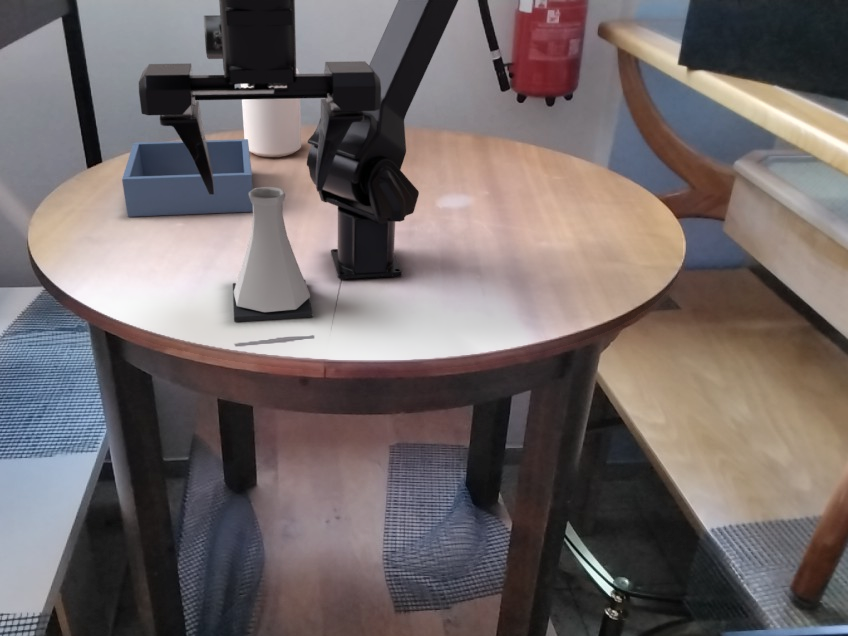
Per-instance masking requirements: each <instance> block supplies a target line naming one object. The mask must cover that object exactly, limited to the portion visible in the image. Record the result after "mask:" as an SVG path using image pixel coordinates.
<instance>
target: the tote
mask: <svg viewBox="0 0 848 636" xmlns="http://www.w3.org/2000/svg"><path fill="white" fill-rule="evenodd" d="M206 144H207V148H208V153H209V158H210V163H211V167H212V172H213V183H214V195H209V193H208V191H207V189H206V186H205V184H204V182H203V180H202V178H201V176H200V173H199V171H198V169H197V167H196V165H195V162H194V160H193V158H192V156H191V154H190V153H189V151H188V149H187V148H186V146H185V145H184V143H183V141H182V140H174V141H173V140H171V141H142V142H140V141H139V142H133V143H132V147H131V149H130V152H129V156H128V159H127V162H126V164H125V165H126V166H125V169H124V172H123V175H122V178H121V181H122V189H123V195H124V203H125V209H126V216H127V218H132V217H133V218H135V217H159V216H181V215H182V216H183V215H184V216H185V215H204V214H205V215H206V214H233V213H251V212H252V213H253V203H251V201H250V198H249V192H250V191H252V190H253V189H254V186H253V185H254V184H253V172H252V163H251V154H250V152H249V145H248V139H244V138H242V139H239V138H238V139H209V140H208V139H206Z"/></svg>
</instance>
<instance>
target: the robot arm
mask: <svg viewBox="0 0 848 636" xmlns="http://www.w3.org/2000/svg"><path fill="white" fill-rule="evenodd" d="M458 2H459V0H397V3H396V5H395V7H394V9H393V12H392V14H391V15H390V18H389V21H388V22H387V26H386V27H385V30H384V32H383V34H382V36H381V38H380V41H379V42H378V45H377V47H376V49H375V51H374V54H373V56H372V58H371V61H370V62H369V64H368V63H367V61H365V60H363V61H360V60H359V61H325V62H324V68H323V69H324V71H323V73H299V74H296V67H297V43H296V41H297V39H296V38H297V37H296V0H218V3H219V15H203V29H204V40H205V41H204V43H205V54H206V57H207V59H208V60H222V66H223V68H222V69H223V74H199V75H198V74H193V73H194V72H193V67H192V63H148V64H147V65H146V67H145V68H144V70H143V71H142V73H141V75H140V78H139V80H138V96H139V104H140V111H141V115H145V116H159V124H160V125H161V126H163V127H171V128H173V129H174V131H175V132H176V134H177V135H178V137H179V138H180V141H183V143H184V145H185V146H186V148H187V149H188V151H189V153H190V154H191V156H192V158H193V160H194V162H195V165H196V167H197V169H198V171H199V173H200V176H201V178H202V180H203V182H204V184H205V186H206V189H207V191H208V193H209V195H214V183H213V172H212V167H211V163H210V158H209V153H208V148H207V144H206V140H207V139H206V135H205V130H204V125H203V119H202V114H201V112H202V111H201V107H200V101H232V100H234V101H236V100H237V101H238V100H239V101H240V100H241V101H242V100H244V99H300V100H301V99H320V118H319V121H318V123H317V127H316V129H315V131H314V132H313V134H311V136H310V137H309V138H308V140H307V144H308V145H311V146H310V148H309V151H308V154H307V157H306V166H307V167H308V171H309V177H310V179H311V181H312V183H313V185H315V188H316V191H317V192H318V195H319V198H320V201H321V202H323V203H329V205H330V204H331V205H333V206H335V207H337V248H333V249H331V250H330V257H331V260H332V263H333V267H334V270H335V274H336V277H337V278H338V279H339V280H350V279H351V280H353V279H370V278H389V277H400V276H402V275H403V268H402V266H401V265H400V261H399V260H398V258H397V256H396V254H395V237H396V236H395V235H396V222H397V223H400V222H403V221H405V218H406V217H407V216H410V215H413V214H414V212H415V209H416V205H417V201H418V199H419V195H420V193H419V190H418V189H417V188H416V186H415V185H414V184H413V183H412V182H411V181H410V180H409V178H408V177H407V176H406V175H405V174H404V172H403V171H402V170H401V169H402V166H403V163H404V160H405V157H406V154H407V145H406V144H407V143H406V127H405V118H406V116H407V113H408V112H409V109H410V107H411V104H412V102H413V100H414V98H415V96H416V93H417V91H418V90H419V87H420V85H421V83H422V80H423V78H424V76H425V74H426V72H427V70H428V67H429V66H430V63H431V61H432V60H433V59H432V58H433V57H434V55H435V52H436V50H437V48H438V45H439V44H440V41H441V40H442V37H443V35H444V34H445V33H444V32H445V30H446V28H447V26H448V24H449V22H450V19H451V17H452V16H453V12H454V11H455V8H456V6H457V4H458ZM241 84H248V87H247V88H244V87H242V88H241V87H236V86H235V85H241ZM251 86H253V87H251ZM270 86H273V87H271V88H269V87H270ZM275 86H287V88H274V87H275ZM249 87H251V88H249Z"/></svg>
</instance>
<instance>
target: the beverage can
mask: <svg viewBox="0 0 848 636" xmlns="http://www.w3.org/2000/svg"><path fill="white" fill-rule="evenodd" d="M296 74H300V71H299V69H298V67H297V66H296ZM242 87H244V88H247V87H248V84H240V88H242ZM251 87H253V86H251ZM251 87H249V88H251ZM271 87H273V86H270V87H269V88H271ZM274 88H287V86H275V87H274ZM241 109H242V123H243V125H242V126H243V137H244V138H243V139H248V145H249V153H252V154H254V155H255V156H258V157H264V158H281V157H287V156H290V155H293V154H294V153H295V152H297V151H299V150H301V148H302V118H301V98H300V99H244V100H241Z"/></svg>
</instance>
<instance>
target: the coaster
mask: <svg viewBox="0 0 848 636" xmlns="http://www.w3.org/2000/svg"><path fill="white" fill-rule="evenodd" d="M304 281H305V283H306V284H307V281H306V279H304ZM235 286H236V282H233V283H232V299H233V300H232V302H233V322H234V323H235V322H236V323H237V322H254V321H271V320H272V321H273V320H287V319H289V320H290V319H305V318H306V319H307V318H313V309H312V305H311V301H310V297H309V298H308V299H307V300H306V301H305V302H304V303H303V304H302V305H300V306H299V307H298V308H297V309H294V310H284V311H273V312H261V311H256V310H252V309H248V308H243V307H239V306H237V305H236V300H235V296H234V289H235Z"/></svg>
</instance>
